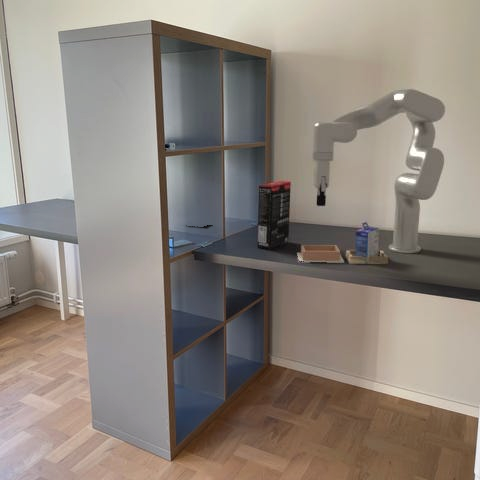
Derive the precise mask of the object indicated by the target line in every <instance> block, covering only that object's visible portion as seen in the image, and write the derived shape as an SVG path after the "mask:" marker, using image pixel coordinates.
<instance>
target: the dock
mask: <svg viewBox="0 0 480 480" xmlns="http://www.w3.org/2000/svg"><path fill="white" fill-rule="evenodd" d="M296 256H298V257H297V261H298V260H299V261H302V262H301V263H310V262H327V263H329V264H332V263H333V264H334V263H336V264H345V261H344V259H343V257H342V255H341V251H340V248H339V247H338V245H337V244H301V245H300V252H296ZM299 261H298V262H299ZM303 261H304V262H303Z"/></svg>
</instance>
